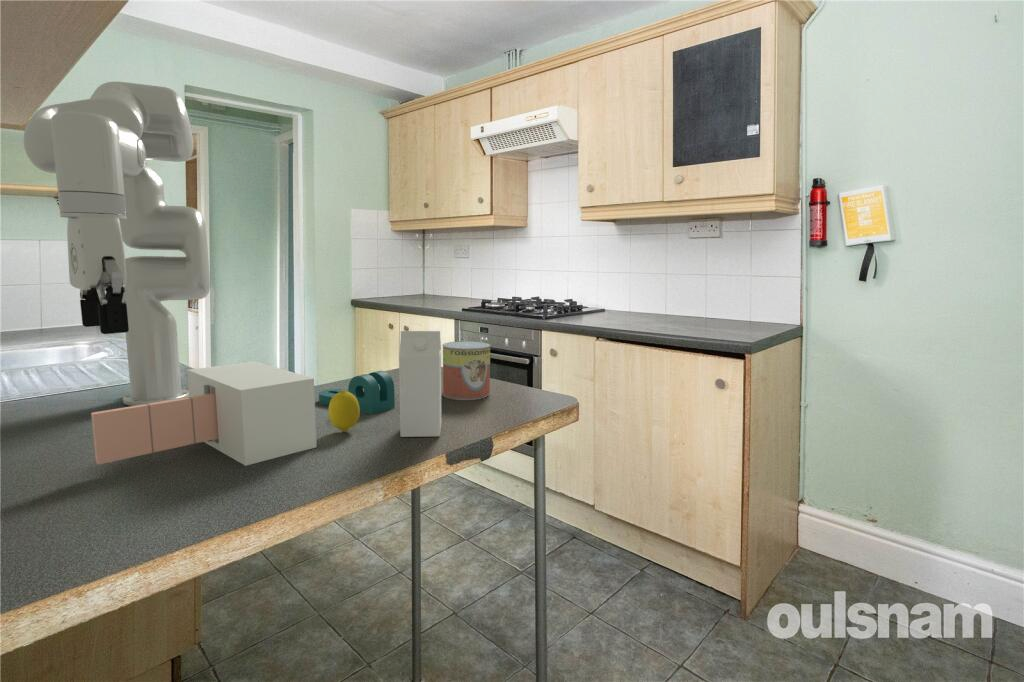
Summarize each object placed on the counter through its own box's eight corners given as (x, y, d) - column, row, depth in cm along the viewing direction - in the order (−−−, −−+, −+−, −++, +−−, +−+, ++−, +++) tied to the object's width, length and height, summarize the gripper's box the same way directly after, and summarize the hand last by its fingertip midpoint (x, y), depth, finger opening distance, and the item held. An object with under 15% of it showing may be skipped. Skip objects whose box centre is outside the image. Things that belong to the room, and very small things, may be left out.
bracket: (394, 407, 123) (394, 372, 122) (372, 415, 117) (371, 378, 116) (335, 396, 132) (334, 363, 131) (312, 403, 126) (311, 368, 125)
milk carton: (404, 426, 109) (402, 328, 106) (441, 425, 110) (440, 328, 107) (400, 437, 102) (398, 333, 99) (439, 437, 103) (439, 333, 100)
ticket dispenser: (240, 467, 87) (235, 391, 85) (187, 436, 102) (182, 370, 100) (316, 447, 97) (313, 378, 95) (258, 421, 111) (254, 361, 109)
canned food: (454, 402, 127) (454, 349, 126) (435, 391, 137) (435, 342, 135) (498, 396, 133) (499, 346, 131) (477, 387, 143) (477, 340, 141)
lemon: (332, 438, 101) (330, 394, 100) (326, 429, 106) (325, 388, 105) (363, 434, 104) (362, 391, 103) (356, 426, 109) (355, 385, 108)
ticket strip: (98, 464, 82) (93, 414, 81) (96, 462, 83) (91, 412, 82) (227, 436, 95) (224, 393, 94) (223, 434, 96) (221, 391, 95)
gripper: (46, 208, 82) (59, 325, 84) (75, 203, 70) (89, 339, 73) (108, 211, 87) (118, 321, 90) (144, 207, 76) (154, 333, 79)
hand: (105, 329), depth 82 cm, fingers open, 9 cm apart
